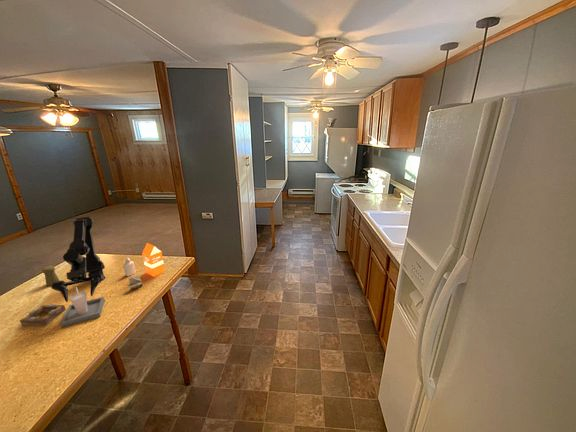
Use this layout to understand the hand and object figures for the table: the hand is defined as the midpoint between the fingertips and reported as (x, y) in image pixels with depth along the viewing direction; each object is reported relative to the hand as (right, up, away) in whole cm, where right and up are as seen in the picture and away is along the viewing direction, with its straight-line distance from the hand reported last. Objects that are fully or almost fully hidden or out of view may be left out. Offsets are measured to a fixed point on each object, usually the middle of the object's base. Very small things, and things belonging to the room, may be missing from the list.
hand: (79, 298), depth 112 cm
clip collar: (-17, -9, +1) cm, 20 cm away
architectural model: (+12, -3, +25) cm, 27 cm away
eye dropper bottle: (-1, +2, +38) cm, 38 cm away
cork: (-40, -1, +27) cm, 48 cm away
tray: (-1, -9, +4) cm, 9 cm away
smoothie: (-1, -8, +4) cm, 9 cm away
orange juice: (+14, +3, +40) cm, 43 cm away
